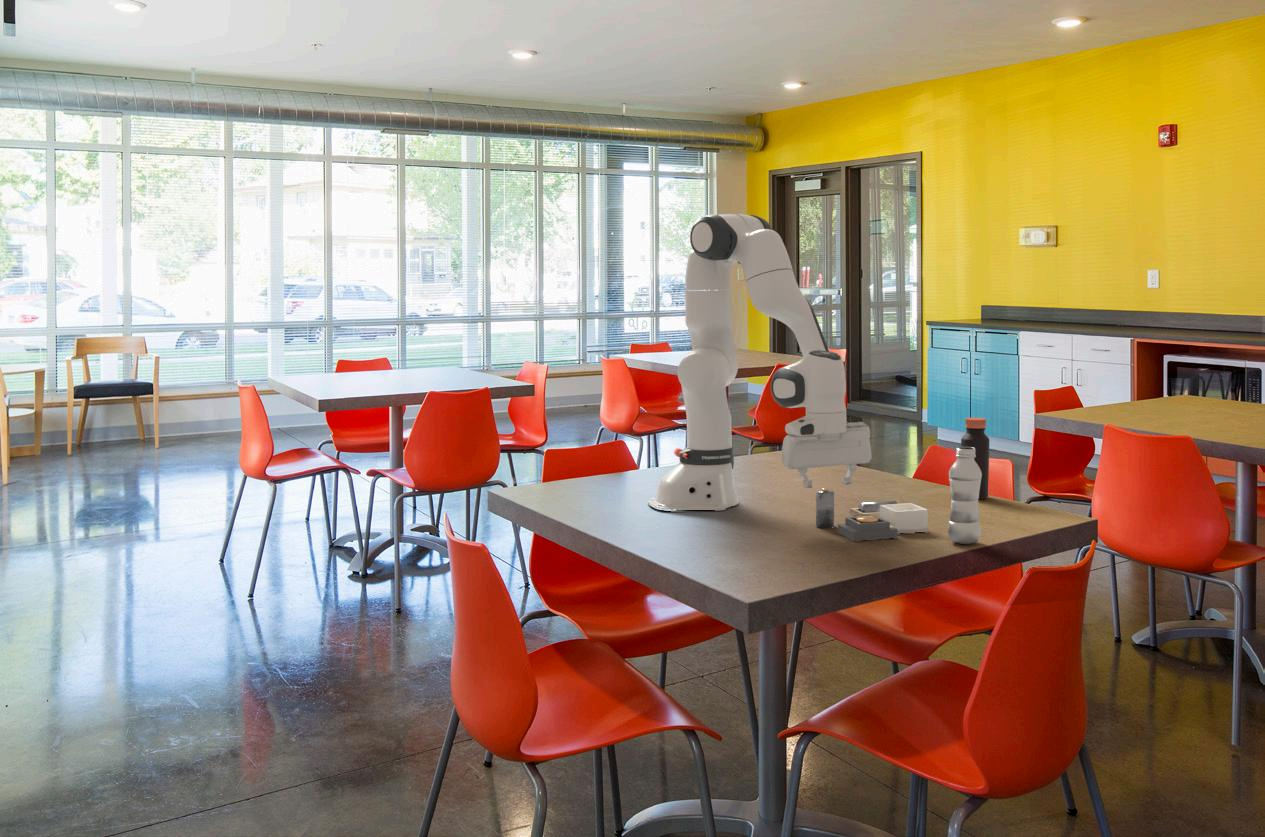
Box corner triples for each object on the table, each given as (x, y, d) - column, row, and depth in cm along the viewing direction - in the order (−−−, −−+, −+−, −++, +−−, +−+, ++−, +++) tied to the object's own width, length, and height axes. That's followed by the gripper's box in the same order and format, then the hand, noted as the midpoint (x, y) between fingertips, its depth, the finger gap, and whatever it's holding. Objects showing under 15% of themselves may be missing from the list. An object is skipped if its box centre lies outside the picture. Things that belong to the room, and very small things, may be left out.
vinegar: (988, 495, 269) (990, 417, 266) (987, 500, 263) (989, 420, 260) (961, 494, 271) (962, 416, 269) (958, 499, 265) (960, 419, 263)
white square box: (895, 534, 229) (895, 511, 228) (879, 527, 236) (879, 505, 235) (927, 532, 230) (927, 509, 230) (910, 524, 238) (911, 503, 237)
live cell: (865, 522, 237) (866, 504, 237) (858, 518, 241) (858, 501, 241) (901, 519, 239) (901, 502, 239) (892, 516, 243) (893, 499, 243)
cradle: (853, 541, 223) (853, 525, 223) (837, 533, 231) (838, 517, 230) (897, 538, 225) (897, 522, 225) (880, 530, 233) (880, 514, 233)
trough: (861, 527, 236) (862, 513, 236) (850, 521, 242) (850, 508, 242) (907, 523, 239) (907, 510, 238) (894, 518, 245) (894, 505, 244)
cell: (820, 529, 235) (820, 490, 234) (813, 525, 239) (813, 487, 238) (836, 527, 236) (837, 489, 235) (829, 524, 240) (829, 486, 239)
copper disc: (862, 524, 225) (862, 520, 225) (852, 520, 229) (852, 516, 229) (882, 523, 226) (882, 519, 226) (872, 518, 230) (872, 515, 230)
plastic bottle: (987, 545, 218) (989, 449, 215) (958, 548, 216) (960, 451, 213) (969, 538, 224) (971, 445, 222) (940, 541, 222) (942, 446, 220)
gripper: (863, 419, 240) (864, 480, 241) (778, 425, 235) (779, 487, 237) (876, 422, 234) (877, 484, 235) (788, 428, 229) (790, 491, 231)
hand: (827, 485), depth 236 cm, fingers open, 8 cm apart
